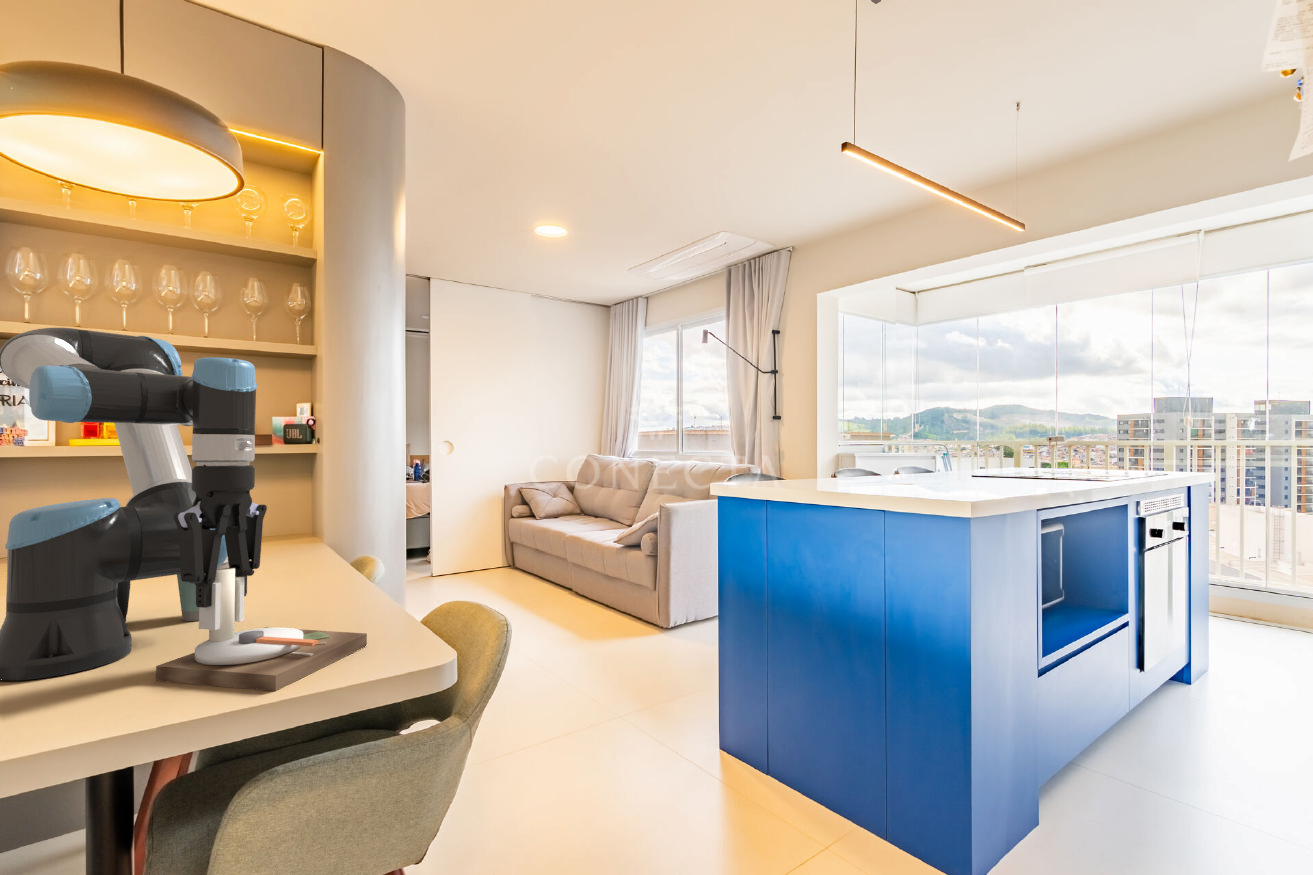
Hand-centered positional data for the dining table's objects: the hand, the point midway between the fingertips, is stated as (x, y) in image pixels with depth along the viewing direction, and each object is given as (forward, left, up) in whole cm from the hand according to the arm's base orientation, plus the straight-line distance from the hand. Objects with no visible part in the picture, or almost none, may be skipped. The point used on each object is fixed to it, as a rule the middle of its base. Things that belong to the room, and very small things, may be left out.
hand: (221, 624), depth 88 cm
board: (+7, +1, -6) cm, 9 cm away
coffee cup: (-25, +20, -6) cm, 33 cm away
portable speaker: (-37, +11, -6) cm, 39 cm away
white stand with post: (+7, 0, -3) cm, 8 cm away
